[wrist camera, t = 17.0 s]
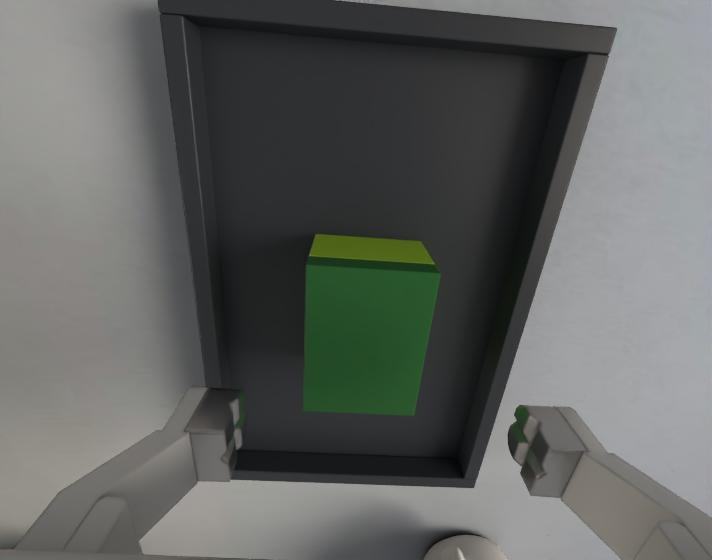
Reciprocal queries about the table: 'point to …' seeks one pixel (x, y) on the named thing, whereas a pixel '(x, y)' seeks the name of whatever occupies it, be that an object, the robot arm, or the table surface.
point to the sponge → (366, 324)
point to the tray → (371, 204)
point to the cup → (465, 549)
